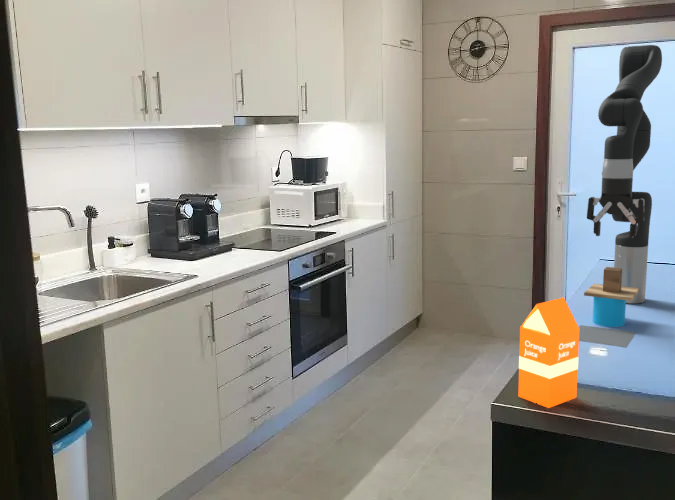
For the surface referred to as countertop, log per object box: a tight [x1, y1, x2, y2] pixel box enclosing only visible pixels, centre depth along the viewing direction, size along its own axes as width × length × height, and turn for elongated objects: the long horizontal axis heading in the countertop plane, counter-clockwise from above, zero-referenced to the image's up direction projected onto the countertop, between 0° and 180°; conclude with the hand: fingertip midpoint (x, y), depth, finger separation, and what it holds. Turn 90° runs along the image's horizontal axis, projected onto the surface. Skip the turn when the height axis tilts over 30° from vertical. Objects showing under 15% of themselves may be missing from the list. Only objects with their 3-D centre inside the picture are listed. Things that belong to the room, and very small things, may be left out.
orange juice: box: [517, 296, 580, 409], centre depth 139 cm, size 8×9×20 cm
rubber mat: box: [578, 324, 637, 348], centre depth 179 cm, size 14×14×1 cm
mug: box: [592, 297, 627, 328], centre depth 191 cm, size 12×8×8 cm
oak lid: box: [583, 266, 639, 301], centre depth 190 cm, size 12×12×7 cm
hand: (614, 236), depth 187 cm, fingers open, 8 cm apart
